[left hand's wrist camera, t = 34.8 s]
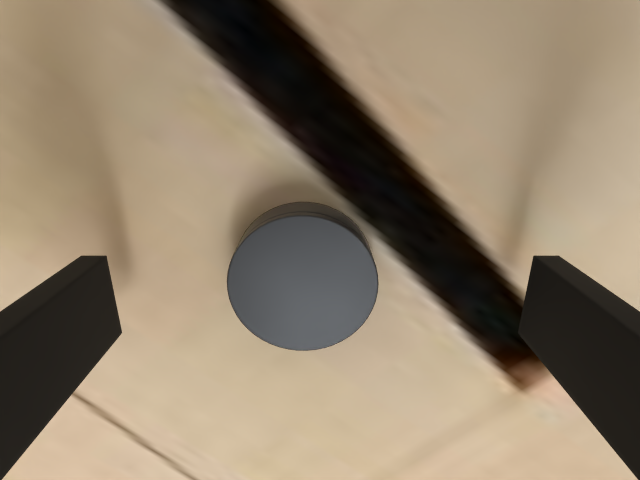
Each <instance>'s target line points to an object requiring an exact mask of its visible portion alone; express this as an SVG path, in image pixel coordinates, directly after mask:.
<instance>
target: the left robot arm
mask: <svg viewBox="0 0 640 480" xmlns="http://www.w3.org/2000/svg"><path fill="white" fill-rule="evenodd" d="M121 333H122V330H121V325H120V320H119V316H118V311H117V306H116V301H115V296H114V291H113V286H112V281H111V276H110V271H109V266H108V261H107V256H80V257H79V258H77V259H76V260H75V261H73V262H72V263H70V264H69V265H67V266H66V267H64V268H63V269H61V270H60V271H59V272H57V273H56V274H54V275H53V276H51V277H50V278H48V279H47V280H46V281H44V282H43V283H41V284H40V285H38V286H37V287H35V288H34V289H32V290H31V291H30V292H28V293H27V294H25V295H24V296H22V297H21V298H19V299H18V300H16V301H15V302H14V303H12V304H11V305H9V306H8V307H6V308H5V309H3V310H2V311H1V312H0V480H2V479H3V477H4V476H5V475H6V474H7V473H8V471H9V470H10V469H11V468H12V466H13V465H14V464H15V463H16V462H17V460H18V459H19V458H20V457H21V455H22V454H23V453H24V452H25V451H26V449H27V448H28V447H29V446H30V444H31V443H32V442H33V441H34V440H35V438H36V437H37V436H38V435H39V433H40V432H41V431H42V430H43V429H44V427H45V426H46V425H47V424H48V423H49V421H50V420H51V419H52V418H53V416H54V415H55V414H56V413H57V412H58V410H59V409H60V408H61V407H62V405H63V404H64V403H65V402H66V401H67V399H68V398H69V397H70V396H71V394H72V393H73V392H74V391H75V390H76V388H77V387H78V386H79V385H80V383H81V382H82V381H83V380H84V379H85V377H86V376H87V375H88V374H89V372H90V371H91V370H92V369H93V368H94V366H95V365H96V364H97V363H98V362H99V360H100V359H101V358H102V357H103V355H104V354H105V353H106V352H107V351H108V349H109V348H110V347H111V346H112V344H113V343H114V342H115V341H116V340H117V338H118V337H119V336H120V335H121ZM518 333H519V335H520V336H521V337H522V338H523V340H524V341H525V342H526V343H527V344H528V346H529V347H530V348H531V349H532V351H533V352H534V353H535V354H536V355H537V357H538V358H539V359H540V360H541V362H542V363H543V364H544V365H545V366H546V368H547V369H548V370H549V371H550V373H551V374H552V375H553V376H554V377H555V379H556V380H557V381H558V382H559V383H560V385H561V386H562V387H563V388H564V390H565V391H566V392H567V393H568V394H569V396H570V397H571V398H572V399H573V401H574V402H575V403H576V404H577V405H578V407H579V408H580V409H581V410H582V412H583V413H584V414H585V415H586V416H587V418H588V419H589V420H590V421H591V423H592V424H593V425H594V426H595V427H596V429H597V430H598V431H599V432H600V433H601V435H602V436H603V437H604V438H605V440H606V441H607V442H608V443H609V444H610V446H611V447H612V448H613V449H614V451H615V452H616V453H617V454H618V455H619V457H620V458H621V459H622V460H623V462H624V463H625V464H626V465H627V466H628V468H629V469H630V470H631V471H632V473H633V474H634V475H635V476H636V477H637V479H638V480H640V312H639V311H638V310H637V309H635V308H634V307H632V306H631V305H629V304H628V303H626V302H625V301H624V300H622V299H621V298H619V297H618V296H616V295H615V294H613V293H612V292H610V291H609V290H608V289H606V288H605V287H603V286H602V285H600V284H599V283H597V282H596V281H594V280H593V279H592V278H590V277H589V276H587V275H586V274H584V273H583V272H581V271H580V270H579V269H577V268H576V267H574V266H573V265H571V264H570V263H568V262H567V261H565V260H564V259H563V258H561V257H560V256H533V261H532V266H531V271H530V276H529V281H528V286H527V291H526V296H525V301H524V306H523V311H522V316H521V320H520V325H519V330H518Z"/></svg>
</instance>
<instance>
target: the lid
mask: <svg viewBox="0 0 640 480" xmlns="http://www.w3.org/2000/svg"><path fill="white" fill-rule="evenodd" d="M227 290H228V295H229V299H230V302H231V305H232V307H233V309H234V311H235V313H236V315H237V317H238V318H239V319H240V321H241V322H242V323H243V324H244V325H245V327H246V328H247V329H248V330H250V331H251V332H252V333H253V334H254V335H256V336H257V337H259V338H260V339H262V340H264V341H266V342H268V343H270V344H272V345H275V346H278V347H281V348H285V349H290V350H303V351H307V350H317V349H321V348H326V347H329V346H332V345H334V344H337V343H339V342H341V341H343V340H344V339H346V338H348V337H349V336H351V335H352V334H353V333H354V332H356V331H357V330H358V329H359V328H360V327H361V326H362V325H363V323H364V322H365V321H366V319H367V318H368V316H369V315H370V313H371V311H372V309H373V307H374V304H375V302H376V297H377V293H378V274H377V269H376V265H375V262H374V259H373V256H372V253H371V251H370V248H369V245H368V242H367V240H366V238H365V236H364V234H363V233H362V232H361V230H360V229H359V227H358V226H357V225H356V224H355V223H354V222H353V221H352V220H351V219H349V218H348V217H347V216H346V215H344V214H343V213H341V212H339V211H338V210H336V209H333V208H331V207H329V206H325V205H322V204H318V203H311V202H296V203H289V204H285V205H281V206H278V207H276V208H273V209H271V210H269V211H267V212H266V213H264V214H263V215H261V216H260V217H258V218H257V219H256V220H255V221H254V222H253V223H252V224H251V225H250V226H249V228H248V229H247V230H246V231H245V233H244V235H243V237H242V238H241V240H240V242H239V244H238V246H237V248H236V251H235V252H234V254H233V257H232V259H231V262H230V265H229V269H228V275H227Z"/></svg>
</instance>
